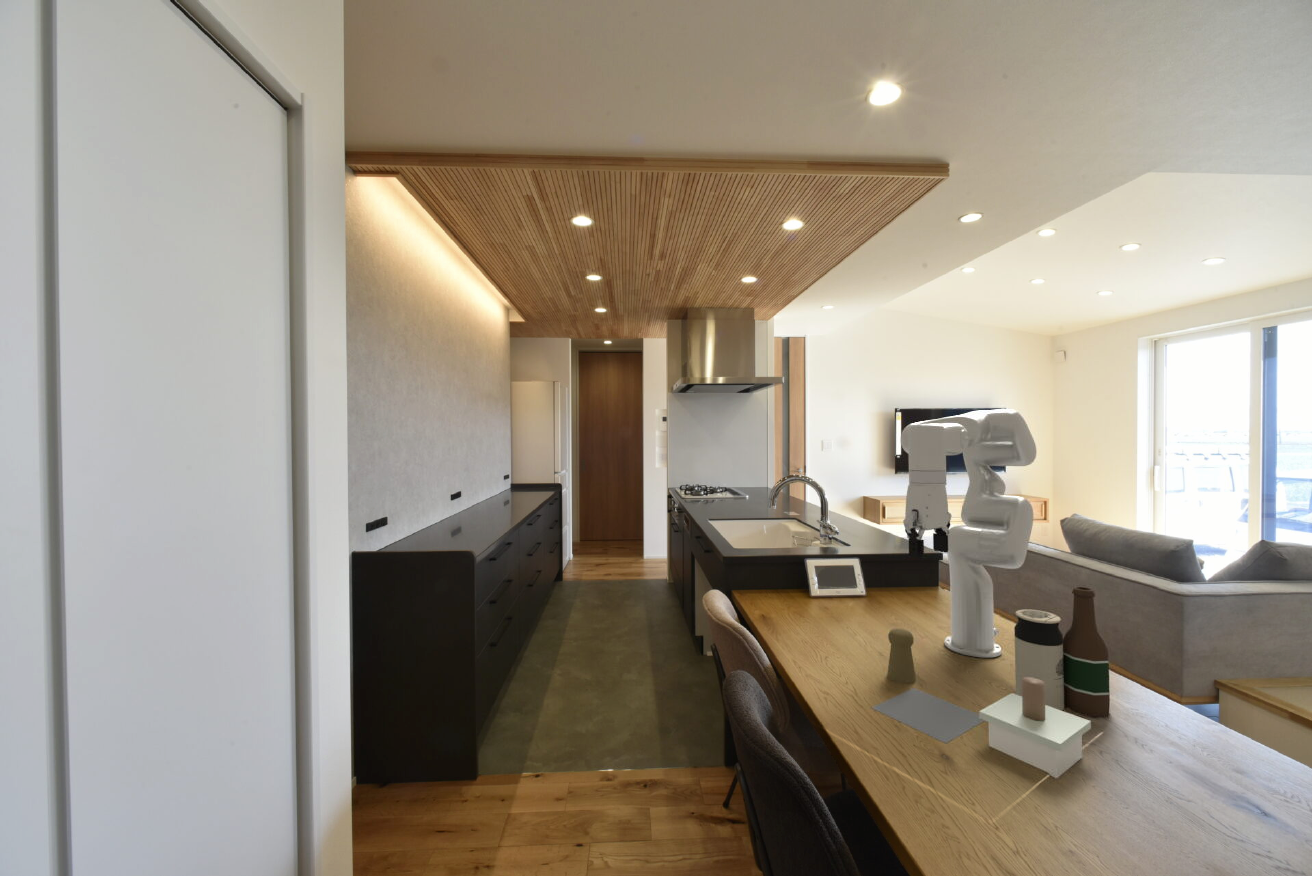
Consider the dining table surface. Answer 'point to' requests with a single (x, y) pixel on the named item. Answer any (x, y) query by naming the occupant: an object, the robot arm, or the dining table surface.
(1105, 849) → the dining table surface
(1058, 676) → the travel mug
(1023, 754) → the white open storage bin
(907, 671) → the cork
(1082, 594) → the beer bottle
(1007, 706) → the lid
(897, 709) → the mat
